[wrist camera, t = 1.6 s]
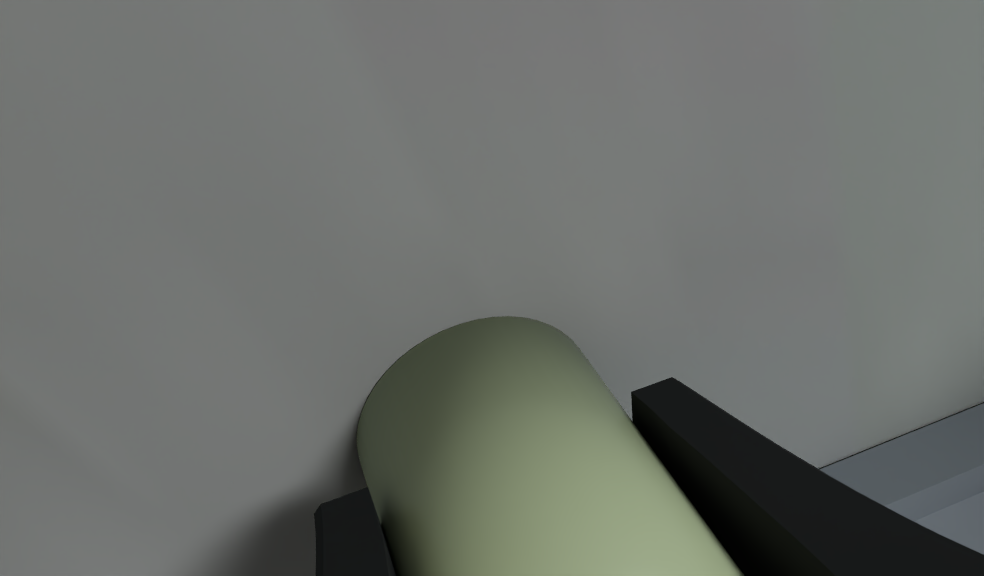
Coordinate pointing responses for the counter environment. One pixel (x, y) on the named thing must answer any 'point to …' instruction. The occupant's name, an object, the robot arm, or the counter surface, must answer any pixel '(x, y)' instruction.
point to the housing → (928, 476)
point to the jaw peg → (520, 465)
